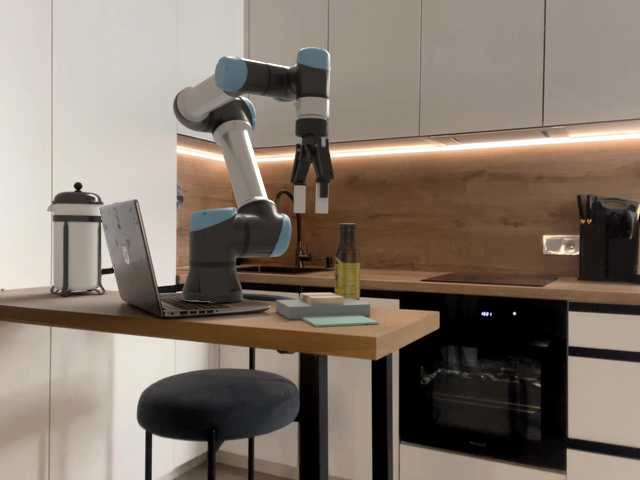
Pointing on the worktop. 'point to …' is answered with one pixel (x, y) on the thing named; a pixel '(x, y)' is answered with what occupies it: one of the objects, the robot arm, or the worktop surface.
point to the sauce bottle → (347, 263)
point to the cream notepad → (322, 298)
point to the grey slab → (321, 308)
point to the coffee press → (77, 242)
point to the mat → (338, 320)
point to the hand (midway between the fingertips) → (309, 213)
